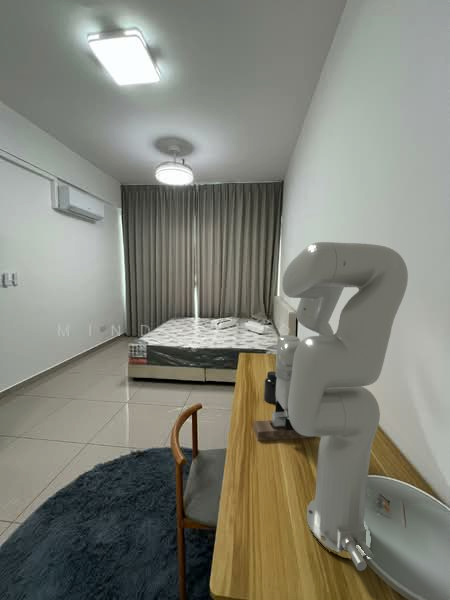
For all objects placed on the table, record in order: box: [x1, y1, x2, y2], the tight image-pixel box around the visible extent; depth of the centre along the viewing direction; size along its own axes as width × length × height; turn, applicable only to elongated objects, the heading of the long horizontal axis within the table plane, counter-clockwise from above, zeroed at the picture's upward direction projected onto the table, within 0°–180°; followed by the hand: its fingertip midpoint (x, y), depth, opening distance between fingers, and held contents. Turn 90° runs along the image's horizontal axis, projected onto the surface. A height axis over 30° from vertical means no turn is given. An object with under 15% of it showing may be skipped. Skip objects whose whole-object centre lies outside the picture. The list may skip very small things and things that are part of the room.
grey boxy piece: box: [271, 411, 287, 429], centre depth 84 cm, size 8×3×7 cm, turn 97°
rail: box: [253, 419, 317, 441], centre depth 84 cm, size 20×6×3 cm, turn 97°
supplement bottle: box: [263, 371, 277, 404], centre depth 107 cm, size 7×7×12 cm
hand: (284, 420), depth 84 cm, fingers open, 9 cm apart
